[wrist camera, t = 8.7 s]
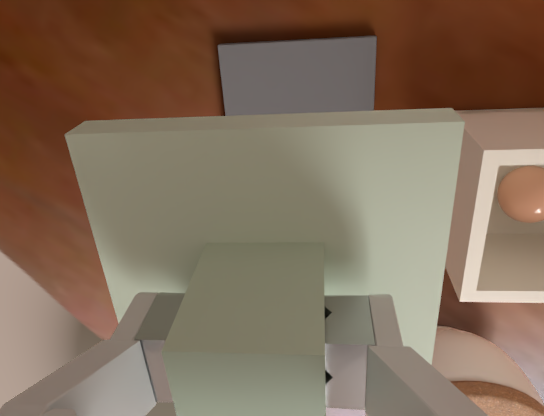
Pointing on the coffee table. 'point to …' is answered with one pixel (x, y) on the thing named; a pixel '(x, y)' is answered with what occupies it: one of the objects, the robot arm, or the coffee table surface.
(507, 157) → the cream box
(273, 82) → the mat
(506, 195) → the ball
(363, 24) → the coffee table surface
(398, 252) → the lid
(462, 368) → the lidded jar
